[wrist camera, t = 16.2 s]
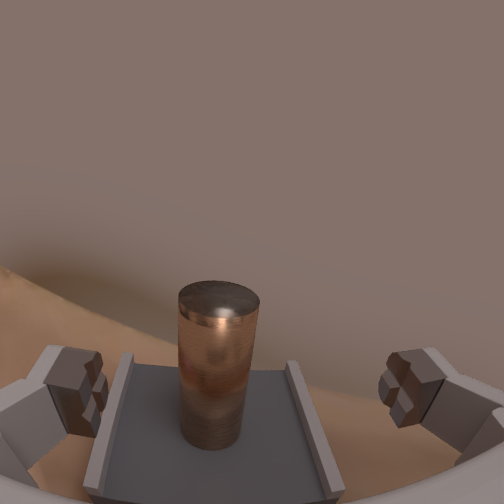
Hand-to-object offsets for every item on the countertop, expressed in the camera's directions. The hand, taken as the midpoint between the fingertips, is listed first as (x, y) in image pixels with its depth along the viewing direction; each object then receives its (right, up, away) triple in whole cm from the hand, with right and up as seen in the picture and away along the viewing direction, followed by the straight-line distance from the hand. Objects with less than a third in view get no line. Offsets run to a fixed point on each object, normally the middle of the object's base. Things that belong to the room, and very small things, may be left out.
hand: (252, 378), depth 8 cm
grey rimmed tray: (-4, -19, +20) cm, 28 cm away
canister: (-4, -13, +18) cm, 23 cm away
